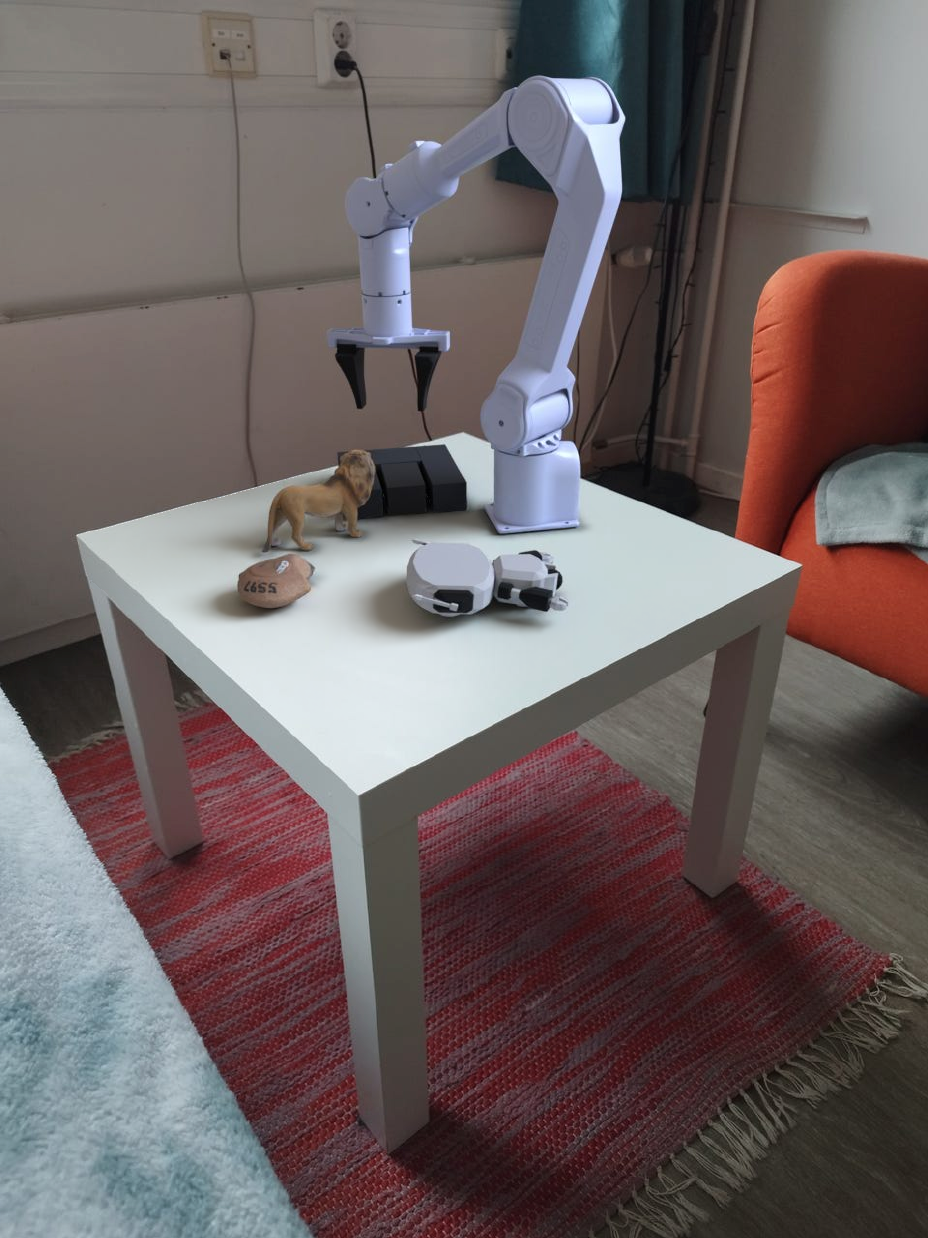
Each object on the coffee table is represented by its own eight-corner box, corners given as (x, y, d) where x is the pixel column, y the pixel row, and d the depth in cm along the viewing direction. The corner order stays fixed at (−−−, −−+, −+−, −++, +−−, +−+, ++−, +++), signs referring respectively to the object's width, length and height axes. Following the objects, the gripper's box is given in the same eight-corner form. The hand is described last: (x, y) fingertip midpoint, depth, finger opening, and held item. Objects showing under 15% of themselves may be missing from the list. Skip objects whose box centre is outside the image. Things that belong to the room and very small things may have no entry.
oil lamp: (339, 608, 88) (308, 577, 94) (340, 570, 86) (309, 541, 92) (249, 621, 84) (223, 588, 90) (249, 582, 82) (223, 550, 88)
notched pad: (445, 469, 119) (445, 443, 117) (466, 509, 107) (466, 482, 105) (339, 477, 117) (337, 451, 115) (349, 520, 105) (346, 491, 103)
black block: (417, 488, 113) (416, 461, 112) (426, 512, 107) (425, 484, 105) (381, 490, 113) (380, 464, 111) (388, 515, 106) (387, 487, 104)
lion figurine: (362, 514, 106) (357, 440, 102) (389, 528, 103) (385, 452, 98) (251, 549, 98) (240, 471, 94) (276, 566, 95) (266, 485, 90)
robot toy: (550, 577, 94) (405, 572, 92) (555, 537, 91) (406, 532, 90) (569, 637, 83) (405, 633, 82) (575, 594, 81) (407, 589, 79)
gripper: (315, 297, 102) (325, 415, 109) (441, 300, 100) (443, 419, 107) (333, 286, 108) (341, 398, 115) (452, 288, 106) (453, 402, 113)
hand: (391, 407), depth 111 cm, fingers open, 7 cm apart
